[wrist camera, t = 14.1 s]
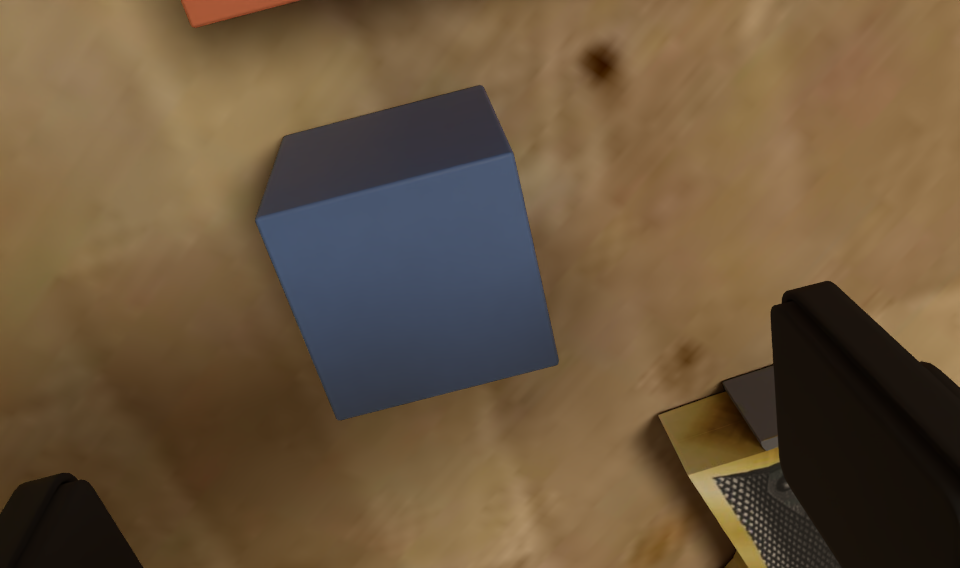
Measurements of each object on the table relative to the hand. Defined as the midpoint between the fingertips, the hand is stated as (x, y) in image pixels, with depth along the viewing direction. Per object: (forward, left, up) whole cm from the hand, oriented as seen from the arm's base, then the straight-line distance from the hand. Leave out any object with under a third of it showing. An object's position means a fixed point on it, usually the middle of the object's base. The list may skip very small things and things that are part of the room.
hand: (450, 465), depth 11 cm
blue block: (0, 0, -8) cm, 8 cm away
